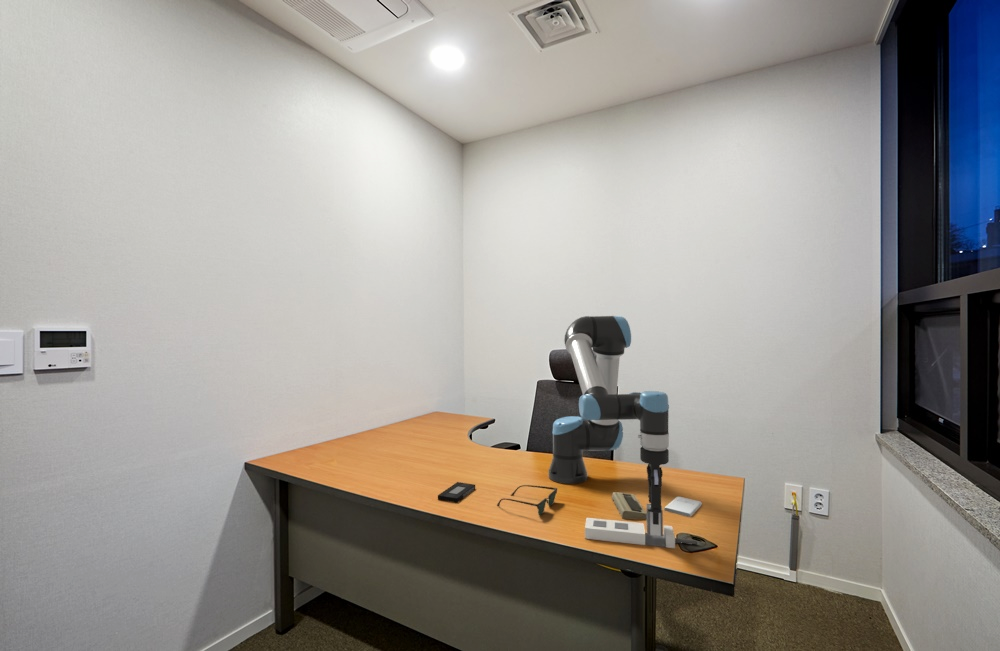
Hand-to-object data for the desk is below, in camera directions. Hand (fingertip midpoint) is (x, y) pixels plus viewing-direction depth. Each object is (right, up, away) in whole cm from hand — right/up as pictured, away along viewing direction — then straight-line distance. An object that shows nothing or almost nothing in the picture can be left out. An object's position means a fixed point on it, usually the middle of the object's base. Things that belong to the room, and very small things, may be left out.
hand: (654, 530), depth 128 cm
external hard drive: (+17, -3, +23) cm, 29 cm away
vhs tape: (-59, -4, +36) cm, 69 cm away
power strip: (-4, -3, +1) cm, 5 cm away
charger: (0, 0, 0) cm, 0 cm away
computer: (-1, -3, +22) cm, 22 cm away
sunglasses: (-35, -3, +26) cm, 43 cm away
